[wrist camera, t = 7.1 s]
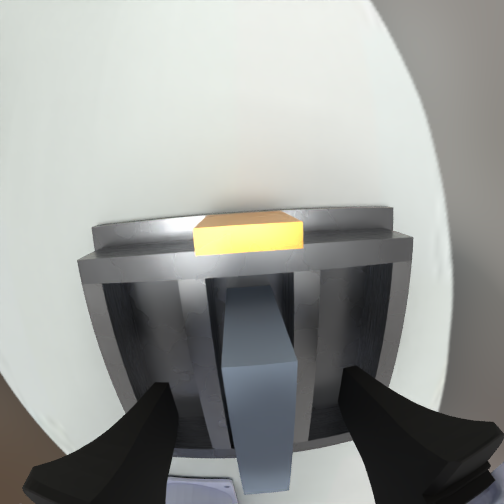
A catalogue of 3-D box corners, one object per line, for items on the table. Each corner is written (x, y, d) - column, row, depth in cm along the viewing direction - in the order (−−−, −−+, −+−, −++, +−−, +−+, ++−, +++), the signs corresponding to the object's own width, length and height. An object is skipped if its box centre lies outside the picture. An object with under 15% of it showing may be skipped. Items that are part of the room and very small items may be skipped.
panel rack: (360, 411, 16) (384, 457, 11) (153, 429, 15) (139, 478, 11) (387, 206, 13) (445, 217, 8) (97, 225, 12) (42, 244, 8)
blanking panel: (273, 408, 14) (288, 490, 9) (240, 411, 14) (244, 494, 9) (270, 285, 13) (297, 361, 7) (226, 288, 13) (221, 367, 7)
